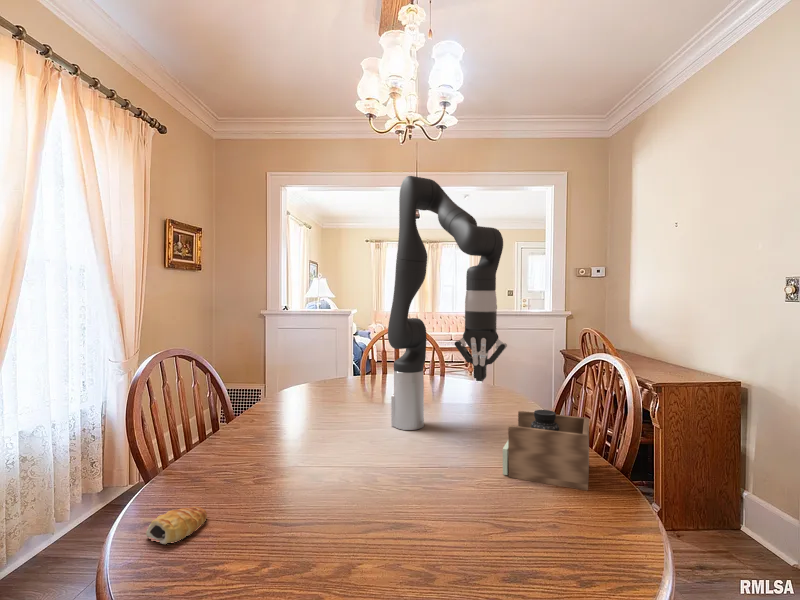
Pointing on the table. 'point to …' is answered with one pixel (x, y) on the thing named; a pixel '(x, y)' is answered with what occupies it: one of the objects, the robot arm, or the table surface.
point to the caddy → (550, 451)
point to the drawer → (505, 460)
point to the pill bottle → (545, 420)
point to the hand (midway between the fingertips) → (480, 380)
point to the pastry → (176, 524)
